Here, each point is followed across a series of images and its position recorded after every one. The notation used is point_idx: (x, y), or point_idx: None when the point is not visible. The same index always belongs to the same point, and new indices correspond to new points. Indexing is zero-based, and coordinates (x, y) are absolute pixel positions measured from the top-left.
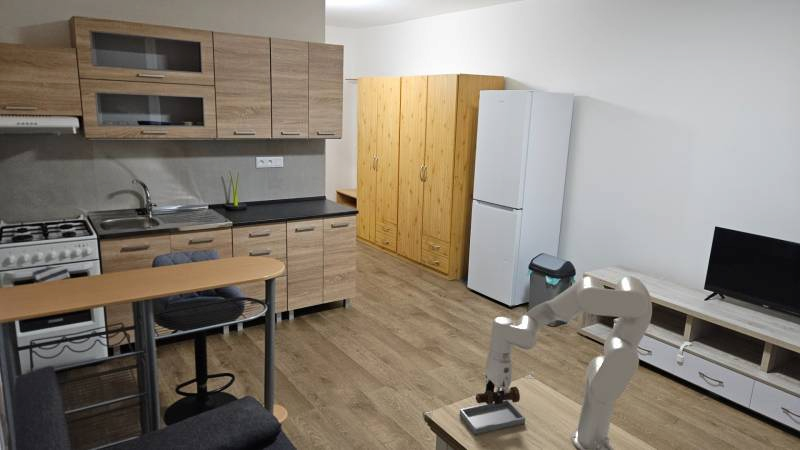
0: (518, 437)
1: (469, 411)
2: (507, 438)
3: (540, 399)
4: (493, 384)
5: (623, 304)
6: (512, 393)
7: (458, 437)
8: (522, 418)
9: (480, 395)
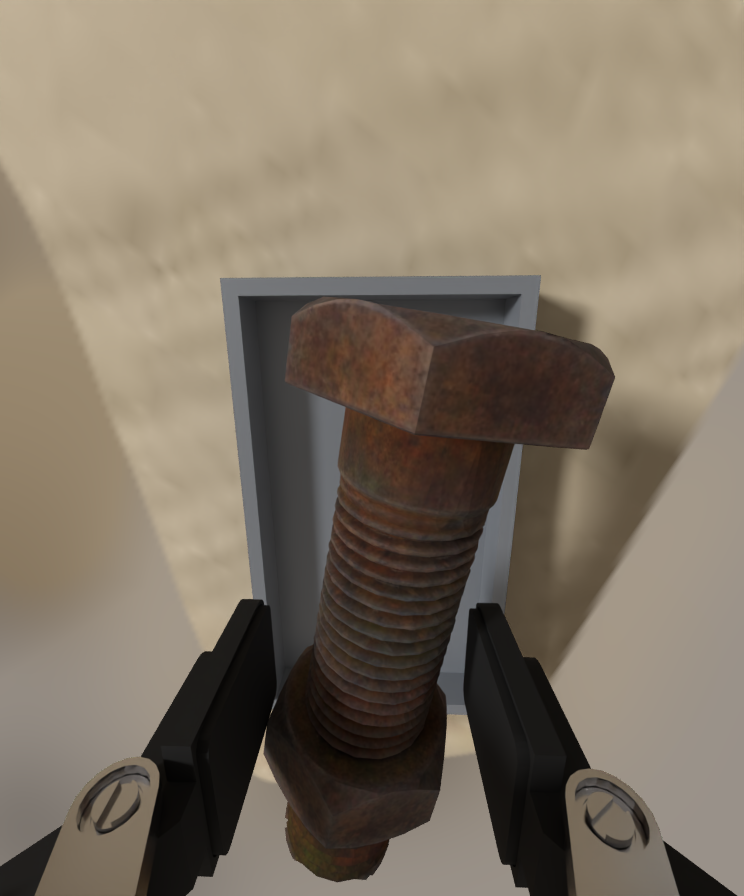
0: (623, 431)
1: (278, 630)
2: (594, 510)
3: None
4: (213, 763)
5: None
6: (492, 466)
7: (458, 751)
8: (535, 313)
9: (350, 870)
